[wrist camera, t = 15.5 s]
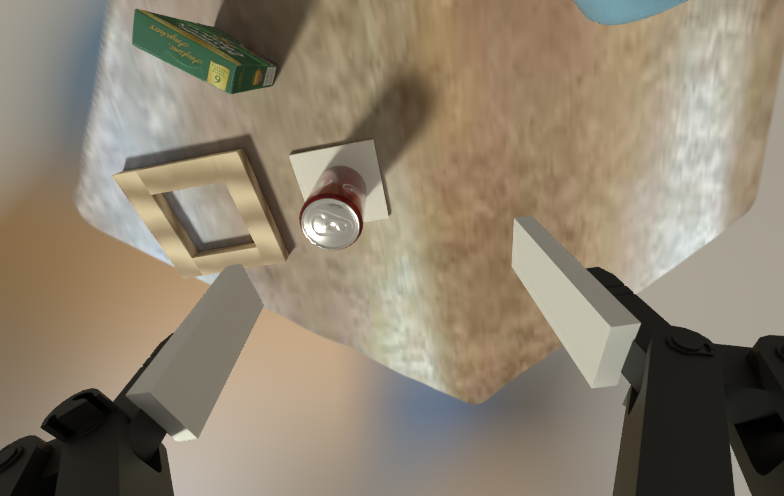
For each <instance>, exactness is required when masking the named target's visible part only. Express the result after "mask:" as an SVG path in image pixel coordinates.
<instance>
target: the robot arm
mask: <svg viewBox="0 0 784 496" xmlns="http://www.w3.org/2000/svg"><path fill="white" fill-rule="evenodd" d="M573 1H574V2H575V4H576V5H577V6H578V8H579V9H580V10H581V12H582V13H583V14H584V15H585V16H586V18H588V19H589V20H591V21H595V22H598V23H599V24H604V25H619V24H626V23H630V22H635V21H638V20H642V19H645V18H648V17H651V16H653V15H656V14H659V13H661V12H663V11H666V10H668V9H671V8H673V7H675V6H677V5H679V4H681V3H684V2H686V1H688V0H573ZM512 268H513V269H514V271H515V272H516V274H517V275H518V277H519V278H520V280H521V281H522V283H523V284H524V286H525V287H526V289H527V290H528V292H529V294H530V295H531V297H532V298H533V300H534V301H535V303H536V304H537V306H538V307H539V309H540V310H541V312H542V313H543V315H544V316H545V318H546V319H547V321H548V322H549V324H550V325H551V327H552V328H553V330H554V332H555V333H556V335H557V336H558V338H559V339H560V341H561V342H562V344H563V345H564V347H565V348H566V350H567V351H568V353H569V354H570V356H571V357H572V359H573V360H574V362H575V363H576V365H577V366H578V368H579V369H580V371H581V373H582V374H583V375H584V377H585V379H586V380H587V382H588V383H589V385H590V386H591V387H592V388H599V387H606V386H614V385H617V384H618V381H619V378H620V376H621V374H623V375H624V376H625V378H626V379H627V380H628V381H629V383H630V384H631V386H630V388H629V391H628V393H627V395H626V397H625V400H624V402H623V405H624V406H626V411H625V417H624V423H623V430H622V437H621V443H620V450H619V456H618V463H617V471H616V476H615V483H614V490H613V496H735V493H734V484H733V474H732V464H731V453H730V444H731V447H732V449H733V452H734V454H735V456H736V458H737V461H738V464H739V466H740V468H741V471H742V473H743V475H744V478H745V480H746V483H747V485H748V487H749V490H750V492H751V494H752V496H784V336H775V335H768V336H764V337H760V338H759V339H758V341H757V342H756V344H755V345H754V346H753V348H750V347H740V346H731V345H721V344H714V343H712V342H711V341H710V340H709V339H707V338H706V337H704V336H702V335H700V334H699V333H697V332H694V331H692V330H689V329H686V328H682V327H676V326H671V325H670V324H669V323H667V322H666V321H665V320H664V319H663V318H662V317H661V316H660V315H658V314H657V313H656V312H655V311H654V310H653V309H652V308H651V307H649V306H648V305H647V304H646V303H645V302H644V301H643V300H642V299H640V298H639V297H638V296H637V295H636V294H633V291H631V290H630V289H629V288H628V287H627V286H624V283H622V282H621V281H620V280H619V279H618V278H617V277H616V276H615V275H613V274H612V273H610V272H608V271H606V270H604V269H601V268H599V267H593V268H587V269H585V268H584V267H583V266H582V265H581V264H580V263H579V262H578V261H577V260H576V259H575V258H574V257H573V256H572V255H571V254H570V253H569V252H568V251H567V250H566V249H565V248H564V247H563V246H562V245H561V244H560V243H559V242H558V241H557V240H556V239H555V238H554V237H553V236H552V235H551V234H550V233H549V232H548V231H547V230H546V229H545V228H544V227H543V226H542V225H541V224H540V223H539V222H538V221H537V220H536V219H534V218H533V217H532V216H531V215H530V216H524V217H518V218H514V231H513V251H512ZM263 306H264V304H263V303H262V301H261V299H260V297H259V295H258V293H257V291H256V290H255V288H254V286H253V284H252V282H251V280H250V279H249V277H248V275H247V273H246V271H245V269H244V268H243V266H242V264H235V265H229V266H226V267H225V268H224V270H223V271H222V272H221V274H220V275H219V276H218V277H217V279H216V280H215V281H214V282H213V284H212V285H211V286H210V288H209V289H208V290H207V291H206V293H205V294H204V295H203V297H202V298H201V299H200V300H199V302H198V303H197V304H196V306H195V307H194V308H193V309H192V311H191V312H190V314H189V315H188V316H187V317H186V318H185V320H184V321H183V322H182V323H181V325H180V326H179V328H178V329H177V330H176V331H175V333H172V334H171V335H170V336H168V337H167V338H166V339H165V340H164V341H162V342H161V343H160V344H159V346H158V347H157V348H156V349H155V350H154V352H153V353H152V354H151V355H150V356H151V357H150V358H148V359H147V360H146V362H145V363H144V364H143V367H141V368H140V369H139V370H138V372H137V373H136V374H135V375H134V376H133V378H132V379H131V380H130V382H129V383H128V384H127V385H126V386H125V388H124V389H123V390H122V392H121V393H120V394H119V395H118V396H117V398H116V399H115V400H114V401H113V402H112V401H111V400H110V399H109V398H108V397H106V396H105V395H104V394H103V393H102V392H100V391H99V390H98V389H94V388H91V389H87V390H83V391H81V392H79V393H77V394H74V395H73V396H71V397H70V398H68V399H66V400H65V401H63V402H62V403H61V404H60V405H58V406H57V407H56V408H55V409H54V410H53V411H52V412H51V413H50V414H49V415H48V416H47V417H46V418H45V420H44V421H43V423H42V425H41V428H42V429H43V430H45V431H47V432H48V433H49V434H51V435H53V436H54V437H56V439H54V440H51V441H49V442H45V441H43V440H42V439H40V438H39V437H37V436H32V435H30V436H26V437H23V438H20V439H18V440H17V441H15V442H13V443H11V444H9V445H7V446H6V447H4V448H3V449H2V450H0V496H174V493H173V487H172V481H171V474H170V469H169V462H168V457H167V451H166V448H165V446H164V445H163V444H162V443H161V442H162V440H163V438H164V437H165V435H166V433H168V434H169V435H170V436H171V437H172V438H173V439H175V440H176V441H185V440H193V439H198V438H199V435H200V433H201V431H202V429H203V427H204V425H205V423H206V421H207V419H208V417H209V415H210V413H211V411H212V409H213V407H214V405H215V403H216V401H217V399H218V397H219V395H220V393H221V391H222V389H223V387H224V385H225V383H226V381H227V379H228V377H229V375H230V373H231V371H232V369H233V367H234V365H235V363H236V361H237V359H238V357H239V355H240V352H241V351H242V348H243V347H244V344H245V342H246V340H247V338H248V336H249V334H250V332H251V330H252V328H253V326H254V324H255V322H256V320H257V318H258V316H259V314H260V312H261V310H262V308H263ZM729 442H730V443H729Z"/></svg>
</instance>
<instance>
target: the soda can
mask: <svg viewBox="0 0 784 496" xmlns="http://www.w3.org/2000/svg"><path fill="white" fill-rule="evenodd" d="M366 193H367V189H366V184H365V182H364V180H363V178H362V176H361V175H360V174H359V173H358V172H357V171H355V170H354V169H352V168H350V167H346V166H333V167H330V168H328V169H327V170H325V171H324V172H323V173H322V174H321V175H320V177H319V178H318V180H317V182H316V184H315V186H314V187H313V189H312V191H311V193H310V194H309V196H308V198H307V200H306V202H305V203H304V205H303V207H302V209H301V212H300V217H299V221H300V226H301V230H302V232H303V233H304V235H305V236H306V238H307V239H308V240H309V241H310V242H312V243H313V244H314V245H316V246H318V247H320V248H323V249H327V250H341V249H344V248H347V247H349V246H351V245H352V244H353V243H355V242H356V241H357V239H358V238H359V237H360V235H361V232H362V229H363V221H364V212H365V203H366Z"/></svg>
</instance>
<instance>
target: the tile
mask: <svg viewBox="0 0 784 496" xmlns="http://www.w3.org/2000/svg"><path fill="white" fill-rule="evenodd" d="M289 158H290V161H291V163H292V166H293V169H294V172H295V175H296V178H297V180H298V183H299V186H300V189H301V192H302V195H303V197H304V200H305V202H306V200H307V198H308V196H309V194H310V193H311V191H312V189H313V187H314V186H315V184H316V182H317V180H318V178H319V177H320V175H321V174H322V173H323V172H324V171H325V170H327V169H328V168H330V167H333V166H346V167H350V168H352V169H354V170H355V171H357V172H358V173H359V174H360V175H361V176H362V178H363V180H364V182H365V184H366V189H367V193H366V203H365V212H364V221H363V222H368V221H374V220H380V219H385V218H389V215H388V210H387V205H386V200H385V195H384V190H383V185H382V180H381V175H380V170H379V164H378V159H377V154H376V149H375V144H374V139H370V140H364V141H359V142H354V143H348V144H343V145H338V146H333V147H327V148H322V149H317V150H311V151H306V152H301V153H296V154H290V155H289Z"/></svg>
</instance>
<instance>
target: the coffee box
mask: <svg viewBox="0 0 784 496" xmlns="http://www.w3.org/2000/svg"><path fill="white" fill-rule="evenodd" d="M132 44H133V45H134V46H136V47H138V48H140V49H141V50H144V51H146V52H148V53H150V54H152V55H153V56H156V57H157V58H159V59H161V60H163V61H165V62H167V63H169V64H171V65H173V66H175V67H177V68H179V69H181V70H183V71H185V72H187V73H189V74H191V75H193V76H195V77H197V78H199V79H201V80H203V81H205V82H207V83H209V84H211V85H212V86H215V87H217V88H218V89H220V90H222V91H224V92H226V93H229V94H234V93H239V92H245V91H249V90H254V89H260V88H265V87H270V86H273V82H274V78H275V74H276V70H277V64H275V63H273V62H272V61H270V60H268V59H267V58H265V57H263V56H262V55H260V54H258V53H257V52H255V51H253V50H252V49H250V48H248V47H247V46H245V45H243V44H241V43H240V42H238V41H236V40H235V39H233V38H231V37H230V36H228V35H226V34H224V33H222V32H221V31H219V30H217V29H216V28H214V27H211V26H206V25H202V24H199V23H193V22H189V21H185V20H180V19H176V18H172V17H168V16H164V15H159V14H155V13H151V12H148V11H144V10H140V9H135V13H134V24H133V36H132Z"/></svg>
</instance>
